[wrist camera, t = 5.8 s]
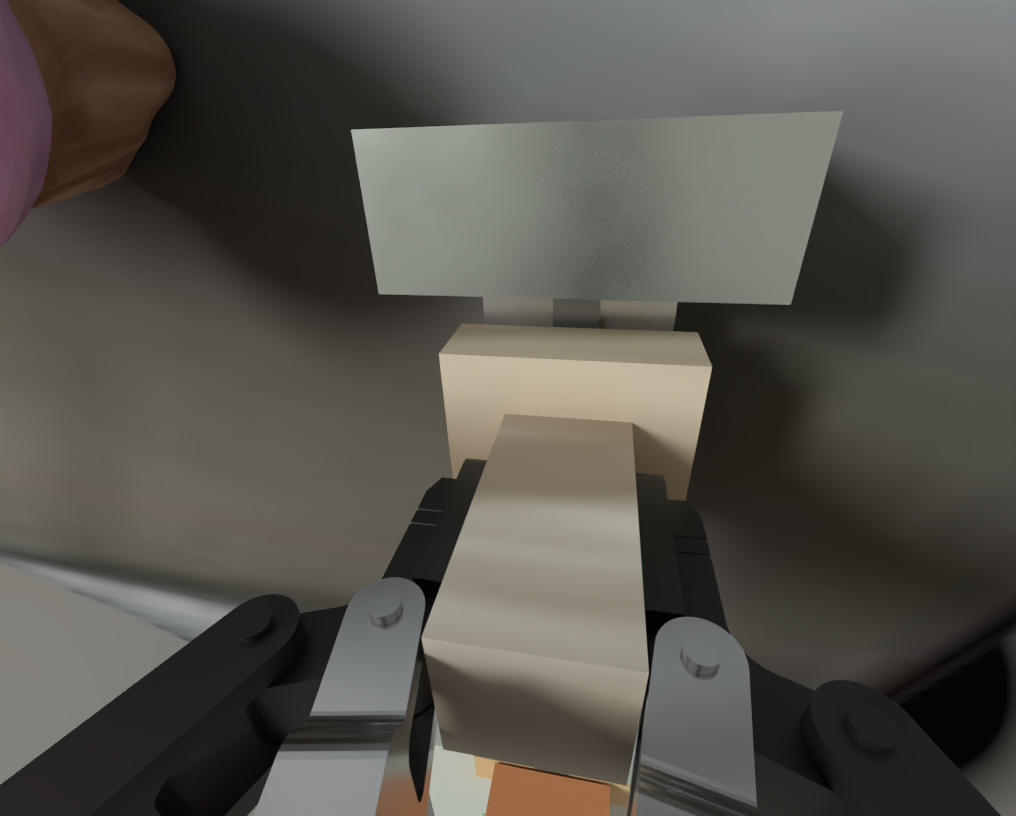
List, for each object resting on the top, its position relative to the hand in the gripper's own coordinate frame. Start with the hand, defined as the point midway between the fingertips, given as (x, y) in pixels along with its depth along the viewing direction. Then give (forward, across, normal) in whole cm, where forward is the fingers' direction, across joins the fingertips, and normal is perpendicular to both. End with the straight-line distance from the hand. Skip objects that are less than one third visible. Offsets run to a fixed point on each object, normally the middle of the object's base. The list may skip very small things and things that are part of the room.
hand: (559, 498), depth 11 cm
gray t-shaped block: (+6, 0, +2) cm, 6 cm away
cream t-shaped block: (+3, 0, 0) cm, 3 cm away
